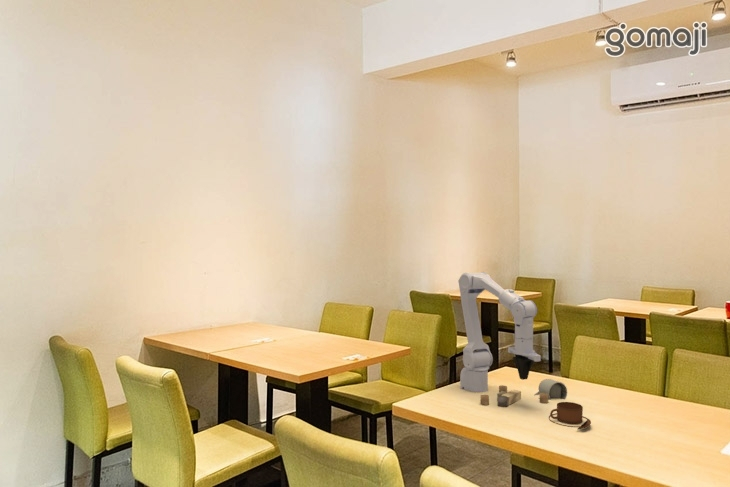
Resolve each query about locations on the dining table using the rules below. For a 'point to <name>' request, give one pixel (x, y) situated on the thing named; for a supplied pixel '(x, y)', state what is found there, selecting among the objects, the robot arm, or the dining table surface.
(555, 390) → the ceramic mug
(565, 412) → the cup and saucer
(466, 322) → the robot arm
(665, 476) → the dining table surface
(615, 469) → the dining table surface
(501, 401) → the leg bar
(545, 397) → the small brown blocks set
